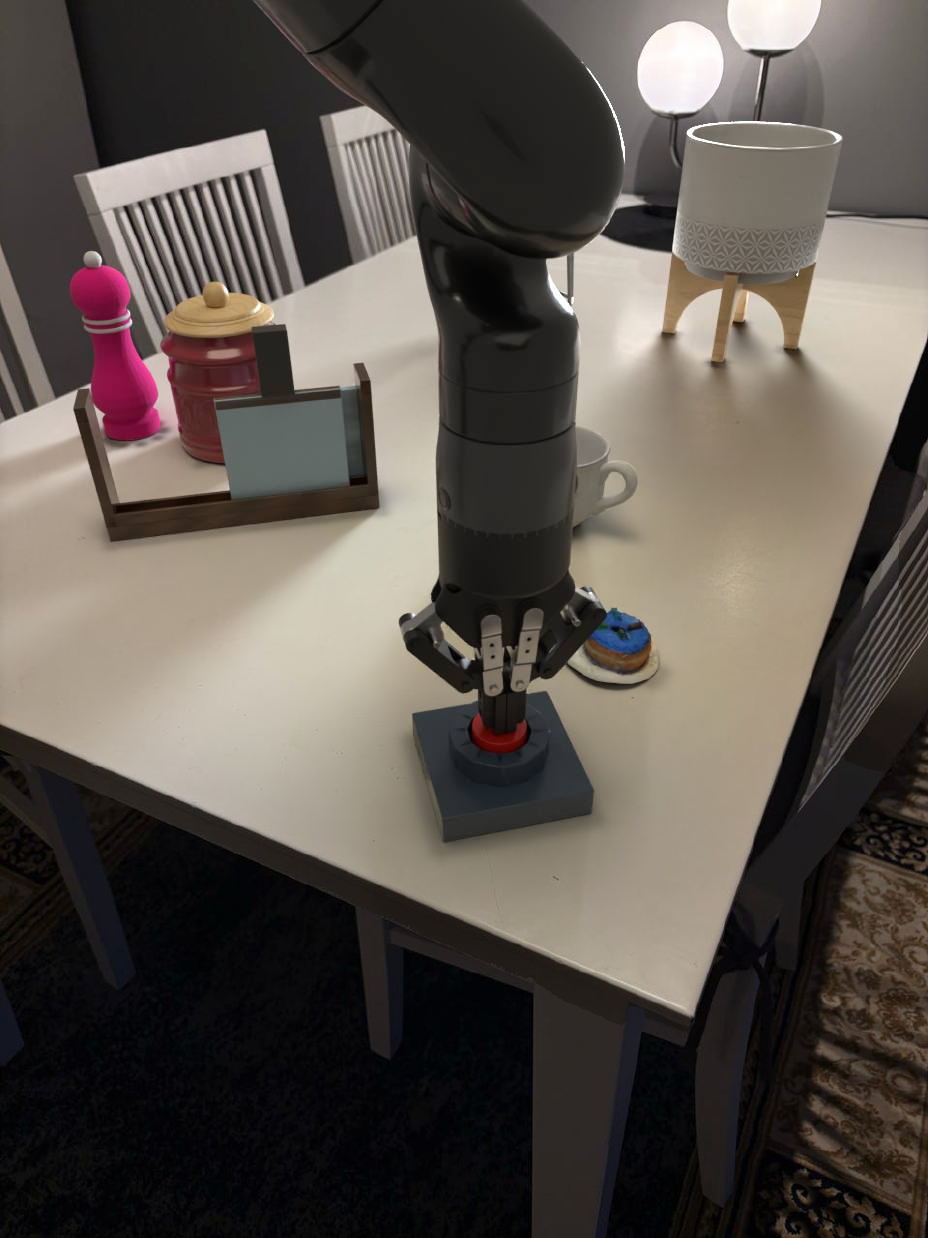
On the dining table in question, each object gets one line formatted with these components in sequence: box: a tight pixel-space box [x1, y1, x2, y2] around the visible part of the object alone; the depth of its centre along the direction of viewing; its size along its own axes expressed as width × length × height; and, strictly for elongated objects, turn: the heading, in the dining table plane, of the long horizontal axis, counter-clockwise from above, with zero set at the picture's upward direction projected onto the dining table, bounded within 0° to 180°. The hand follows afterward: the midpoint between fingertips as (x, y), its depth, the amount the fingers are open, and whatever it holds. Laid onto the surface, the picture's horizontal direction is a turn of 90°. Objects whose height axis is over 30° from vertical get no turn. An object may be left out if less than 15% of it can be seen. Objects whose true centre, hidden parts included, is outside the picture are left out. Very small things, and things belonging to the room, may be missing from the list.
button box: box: [411, 690, 595, 843], centre depth 61 cm, size 10×10×4 cm
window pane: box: [214, 323, 350, 500], centre depth 85 cm, size 12×2×17 cm, turn 104°
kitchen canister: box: [159, 281, 277, 464], centre depth 99 cm, size 13×13×18 cm
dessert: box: [566, 607, 660, 685], centre depth 72 cm, size 8×7×6 cm
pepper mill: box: [69, 250, 162, 441], centre depth 101 cm, size 7×7×20 cm
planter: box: [661, 121, 844, 363], centre depth 121 cm, size 19×19×26 cm
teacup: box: [573, 425, 639, 528], centre depth 87 cm, size 14×11×8 cm
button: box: [472, 713, 527, 754], centre depth 60 cm, size 4×4×2 cm
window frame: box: [72, 362, 381, 542], centre depth 87 cm, size 26×4×14 cm, turn 104°
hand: (500, 725), depth 60 cm, fingers closed
